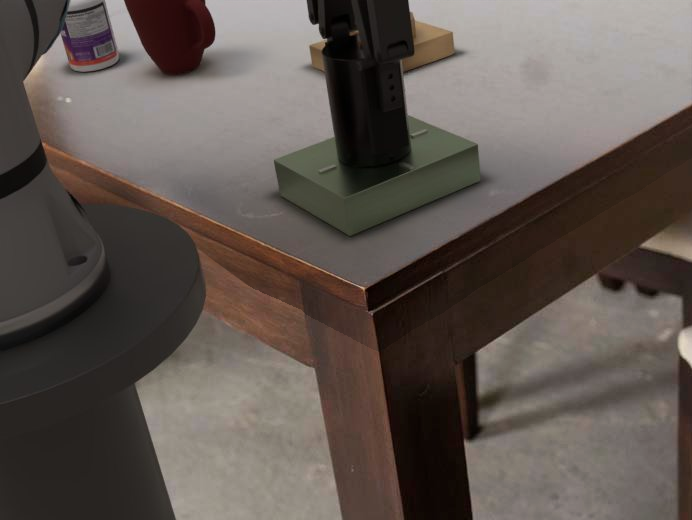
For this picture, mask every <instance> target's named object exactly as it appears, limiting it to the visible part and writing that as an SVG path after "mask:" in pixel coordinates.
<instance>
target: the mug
mask: <svg viewBox="0 0 692 520" xmlns="http://www.w3.org/2000/svg"><path fill="white" fill-rule="evenodd" d="M123 2H124V5H125V8H126V11H127V12H128V16H129V18H130V20H131V22H132V24H133V26H134V29H135V31H136V34H137V36H138V38H139V40H140V44H141V45H142V47H143V49H144V51H145V53H146V54H147V55H148V57H149V58H150V59H151V60H152V62H153V63H154V65H156V66H157V68H158V69H159V70H160V71H161V72H162V73H163V74H166V75H172V76H173V75H182V74H187V73H190V72H193V71H195V70H197V69H198V68H199V67H201V63H202V61H203V60H202V59H203V56H204V53H205V50H206V49H208V48H210V47H211V46H212V45H213V44H214V42H215V39H216V25H215V22H214V17H213V16H212V14H211V12H210V10H209V8H208V6H206V0H123Z"/></svg>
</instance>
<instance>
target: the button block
mask: <svg viewBox="0 0 692 520" xmlns="http://www.w3.org/2000/svg"><path fill="white" fill-rule="evenodd" d="M410 17H411V25H412V33H413V41H414V51H415V53H414V56H412V57H408V58H405V59H401V60H402V69H403V73H406V72H408V71H411V70H414V69H416V68H419V67H423V66H425V65H428V64H430V63H433V62H436V61H438V60H441V59H444V58H447V57H450V56H454V55H455V53H456V52H455V43H454V42H455V41H454V31H452V30H449V29H445V28H442V27H439V26H435V25H432V24H428V23H425V22H423V21H419V20H416V19H415V16H414V13H413V12H412V11H410ZM355 34H359V32H358V31H354V32H350V36H351V35H355ZM325 42H327V39H323V40H321V41H318V42H315V43H312V44H309V46H308V47H309V54H310V60H311V66H312V68H314V69H317V70H319V71H322V72H324V66H323V59H322V49H323V48H324V46H325Z"/></svg>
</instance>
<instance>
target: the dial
mask: <svg viewBox="0 0 692 520" xmlns="http://www.w3.org/2000/svg"><path fill="white" fill-rule="evenodd" d="M322 59H323V66H324V71H323V72H324V77H325V85H326V92H327V97H328V103H329V104H328V105H329V111H330V116H331V117H330V118H331V124H332V130H333V131H332V132H333V137H335V144H336V150H337V156H338V159H339V160H340V161H341V162H343V163H345V164H347V165H351V166H358V167H371V166H379V165H384V164H388V163H391V162H394V161H397V160H399V159H401V158H403V157H404V156H406V155H407V154H408V153H409V151H410V150H411V140H410V131H409V122H408V115H409V114H408V105H407V104H408V103H407V96H406V87H405V79H404V78H405V77H404V72H403V69H402V60H400V68H401V77H402V86H403V95H404V104H405V112H406V121H407V130H408V139H409V146H406V147H403V148H400V149H396V150H393V151H390V152H386V153H383V154H380V155H376V156H375V155H374V154H373V153H371V146H370V139H369V131H368V124H367V116H366V109H365V101H364V94H363V87H362V79H361V72H360V70H358V68H357V66H356V64H355V62H357V61H361V60H364V59H365V57H364V53H363V49H362V45H361V41H360V36H359V34H358V35H352V36H348V37H344V38H340V39H337V40H335V41H333V42H331V43H329V44H327V45H326V46H324V48H323V49H322Z"/></svg>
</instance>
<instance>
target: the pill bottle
mask: <svg viewBox="0 0 692 520" xmlns="http://www.w3.org/2000/svg"><path fill="white" fill-rule="evenodd" d="M60 36H61V37H60V38H61V40H62V44H63V47H64V50H65V51H64V52H65V55H66V57H67V61H68V63H69V66H70V69H72V70H73V71H75V72H79V73H80V72H82V73H83V72H84V73H87V72H93V71H99V70H103V69H107V68H109V67H111V66H113V65H115V64H116V63H117V62H118V61H119V60H120V53H119V49H118V45H117V41H116V38H115V33H114V30H113V26H112V22H111V18H110V15H109V11H108V7H107V3H106V0H70V4H69V8H68V11H67V16H66V19H65V22H64V25H63V28H62V30H61V32H60Z"/></svg>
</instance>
